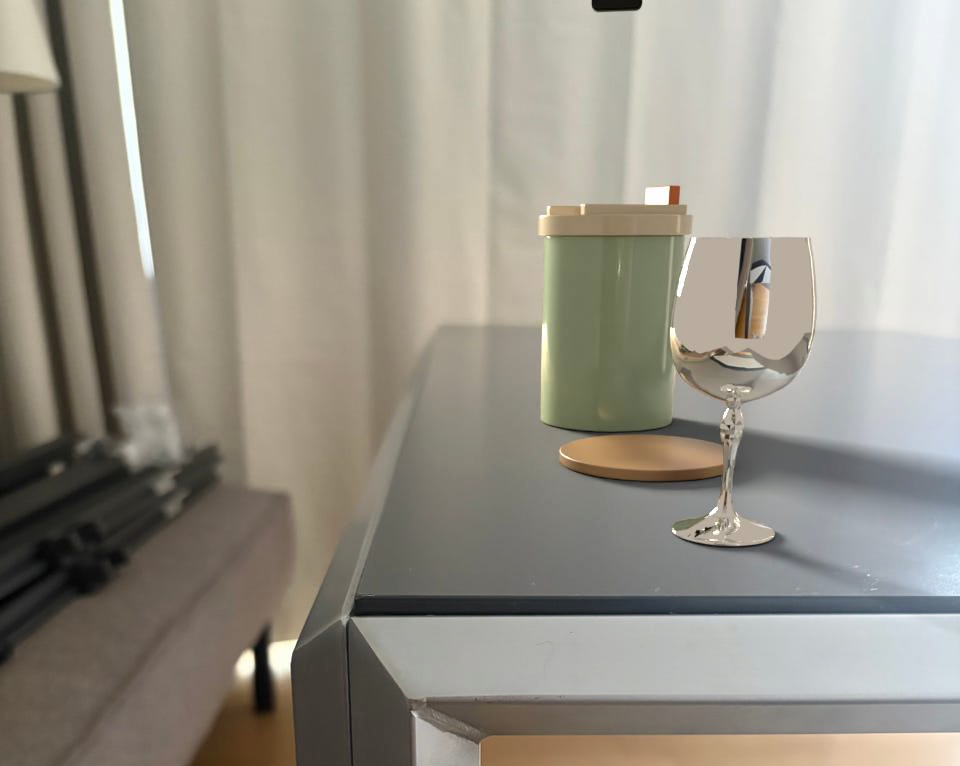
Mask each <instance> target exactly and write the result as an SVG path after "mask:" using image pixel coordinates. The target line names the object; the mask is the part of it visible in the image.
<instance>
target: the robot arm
mask: <svg viewBox="0 0 960 766" xmlns="http://www.w3.org/2000/svg"><path fill="white" fill-rule="evenodd" d="M590 2H591V8H592V10H593V12H594V13H615V12H616V13H617V12H619V13H620V12H637V11H639V10H641V8H642V6H643V0H591V1H590Z"/></svg>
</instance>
